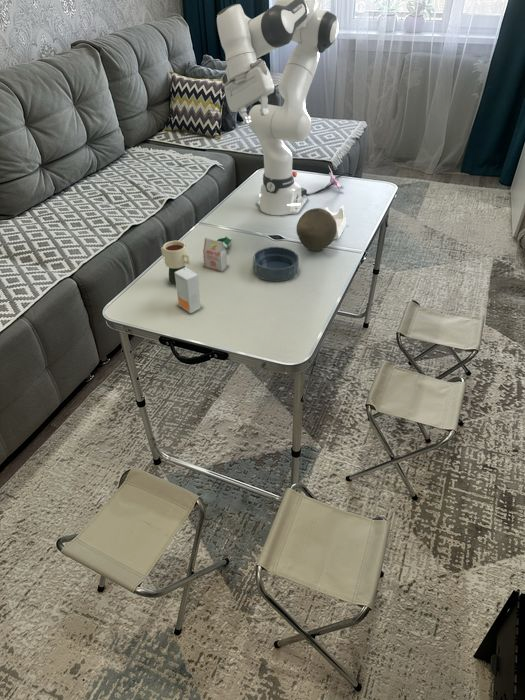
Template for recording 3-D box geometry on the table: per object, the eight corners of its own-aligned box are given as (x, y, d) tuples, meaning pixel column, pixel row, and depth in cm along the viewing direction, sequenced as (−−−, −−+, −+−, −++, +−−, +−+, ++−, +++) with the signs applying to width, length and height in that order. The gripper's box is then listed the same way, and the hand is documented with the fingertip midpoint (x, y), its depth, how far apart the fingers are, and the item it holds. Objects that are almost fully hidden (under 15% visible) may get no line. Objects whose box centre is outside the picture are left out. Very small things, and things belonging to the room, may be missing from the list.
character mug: (198, 280, 167) (195, 245, 158) (185, 291, 162) (181, 254, 154) (172, 272, 171) (167, 237, 163) (158, 282, 166) (153, 246, 158)
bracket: (328, 225, 200) (325, 207, 196) (346, 224, 197) (343, 205, 193) (320, 240, 190) (316, 221, 186) (338, 238, 187) (335, 219, 183)
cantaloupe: (293, 241, 188) (294, 202, 178) (331, 240, 189) (334, 201, 179) (298, 260, 177) (300, 220, 167) (338, 258, 178) (342, 218, 168)
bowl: (267, 255, 179) (267, 243, 176) (305, 266, 173) (306, 253, 170) (245, 275, 169) (244, 261, 166) (284, 287, 164) (284, 273, 160)
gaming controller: (216, 260, 181) (227, 250, 177) (209, 252, 179) (220, 242, 176) (223, 247, 188) (234, 238, 184) (216, 240, 186) (226, 231, 183)
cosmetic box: (178, 305, 155) (173, 271, 148) (189, 300, 158) (185, 266, 150) (190, 314, 152) (186, 279, 144) (201, 308, 154) (198, 274, 147)
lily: (333, 200, 219) (346, 180, 214) (311, 185, 220) (324, 165, 216) (340, 198, 229) (352, 179, 225) (319, 184, 231) (331, 165, 226)
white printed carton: (210, 262, 176) (208, 235, 170) (227, 266, 174) (225, 239, 167) (204, 266, 174) (202, 240, 167) (221, 271, 171) (219, 244, 165)
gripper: (272, 54, 141) (284, 107, 145) (235, 79, 158) (247, 126, 162) (253, 57, 138) (267, 111, 142) (218, 81, 155) (230, 129, 159)
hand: (256, 119), depth 152 cm, fingers open, 8 cm apart
